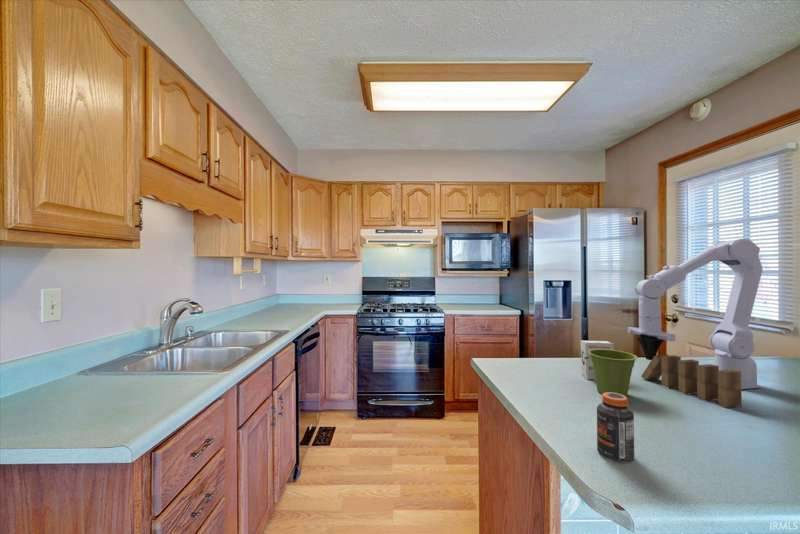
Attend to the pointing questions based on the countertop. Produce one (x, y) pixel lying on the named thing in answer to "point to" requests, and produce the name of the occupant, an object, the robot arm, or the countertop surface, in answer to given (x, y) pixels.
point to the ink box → (586, 361)
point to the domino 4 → (707, 382)
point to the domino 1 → (653, 368)
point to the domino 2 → (670, 370)
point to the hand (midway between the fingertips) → (650, 359)
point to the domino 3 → (687, 376)
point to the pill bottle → (615, 428)
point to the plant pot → (612, 370)
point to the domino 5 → (729, 388)
